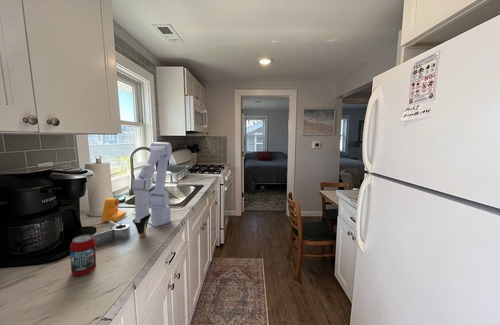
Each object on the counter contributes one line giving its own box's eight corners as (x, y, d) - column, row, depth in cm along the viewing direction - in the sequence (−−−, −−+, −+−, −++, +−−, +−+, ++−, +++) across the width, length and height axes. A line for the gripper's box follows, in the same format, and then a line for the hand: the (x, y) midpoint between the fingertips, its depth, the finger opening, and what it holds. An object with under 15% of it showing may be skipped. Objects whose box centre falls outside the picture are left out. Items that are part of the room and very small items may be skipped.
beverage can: (68, 279, 69) (66, 244, 68) (74, 268, 75) (72, 235, 74) (94, 274, 72) (93, 240, 71) (97, 263, 78) (96, 232, 77)
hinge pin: (144, 233, 103) (144, 217, 102) (148, 236, 101) (148, 220, 100) (136, 236, 100) (135, 220, 99) (140, 239, 98) (139, 222, 97)
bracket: (115, 223, 114) (114, 201, 113) (101, 222, 114) (100, 200, 113) (126, 215, 125) (126, 195, 124) (114, 215, 125) (114, 195, 124)
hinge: (117, 228, 108) (117, 218, 107) (132, 236, 100) (132, 226, 99) (83, 238, 96) (82, 228, 95) (96, 249, 88) (96, 237, 87)
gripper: (137, 199, 105) (138, 225, 106) (126, 208, 91) (127, 239, 92) (153, 198, 106) (153, 225, 108) (144, 208, 92) (144, 238, 94)
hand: (142, 231), depth 100 cm, fingers closed on hinge pin, 4 cm apart
